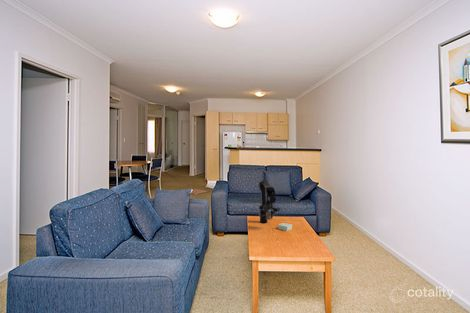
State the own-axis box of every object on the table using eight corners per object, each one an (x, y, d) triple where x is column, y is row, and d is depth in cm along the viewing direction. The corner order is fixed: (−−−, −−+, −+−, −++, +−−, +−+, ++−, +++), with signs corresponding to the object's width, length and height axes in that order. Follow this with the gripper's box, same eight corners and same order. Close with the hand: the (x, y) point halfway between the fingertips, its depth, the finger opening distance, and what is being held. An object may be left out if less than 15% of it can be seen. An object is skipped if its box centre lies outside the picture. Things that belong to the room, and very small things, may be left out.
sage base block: (278, 229, 235) (278, 224, 235) (283, 227, 242) (283, 222, 242) (287, 231, 229) (287, 226, 229) (291, 229, 236) (291, 224, 236)
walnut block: (265, 219, 236) (266, 212, 235) (268, 218, 239) (268, 211, 239) (270, 219, 233) (270, 213, 233) (272, 218, 237) (272, 212, 236)
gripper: (256, 200, 235) (255, 217, 235) (274, 203, 224) (274, 221, 224) (262, 198, 244) (262, 215, 244) (280, 201, 233) (280, 218, 233)
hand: (269, 217), depth 236 cm, fingers closed on walnut block, 4 cm apart
